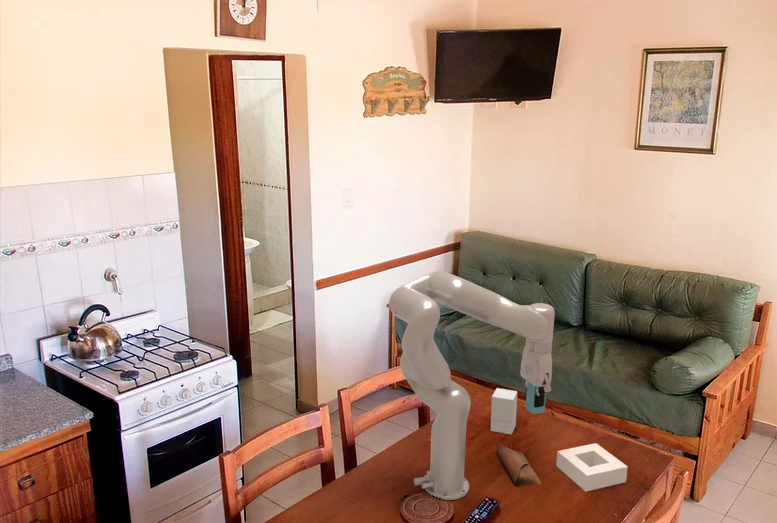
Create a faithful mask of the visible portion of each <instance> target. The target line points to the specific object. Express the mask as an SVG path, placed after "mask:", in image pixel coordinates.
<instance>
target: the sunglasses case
mask: <svg viewBox="0 0 777 523" xmlns="http://www.w3.org/2000/svg"><path fill="white" fill-rule="evenodd" d="M495 452H496V455H497V457H498V458H499V460H500V461H501V463H502V464H503V466H504V467H505V469H506V471H507V473H508V474H509V476H510V478H511V480H512V481H513V483H514V484H515V486H516V487H526V486H534V485H541V484H542V481H541V480H540V477H539V476H538V475H537V473H536V472H535V470H534V469H533V468H532V466H531V464H530V462H529V460H527V457H526V456H525V454H524V453H523V452H520V451H517V450H513V449H511V448H510V447H509V448H508V447H507V446H505V445H500V446H498V447H497V449H496V451H495Z"/></svg>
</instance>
